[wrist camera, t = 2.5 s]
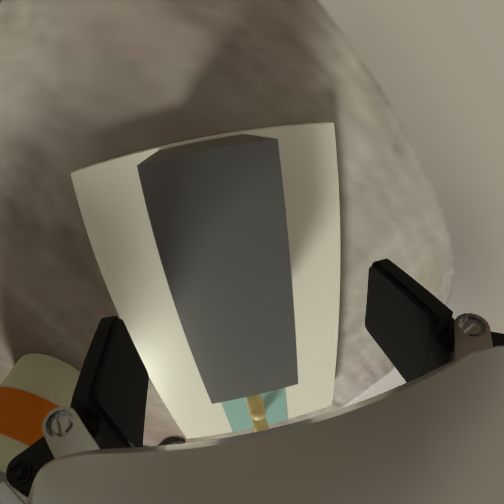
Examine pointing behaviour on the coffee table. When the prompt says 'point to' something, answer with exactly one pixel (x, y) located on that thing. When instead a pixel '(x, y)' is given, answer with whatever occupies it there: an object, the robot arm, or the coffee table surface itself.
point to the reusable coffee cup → (31, 401)
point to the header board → (161, 302)
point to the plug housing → (227, 259)
